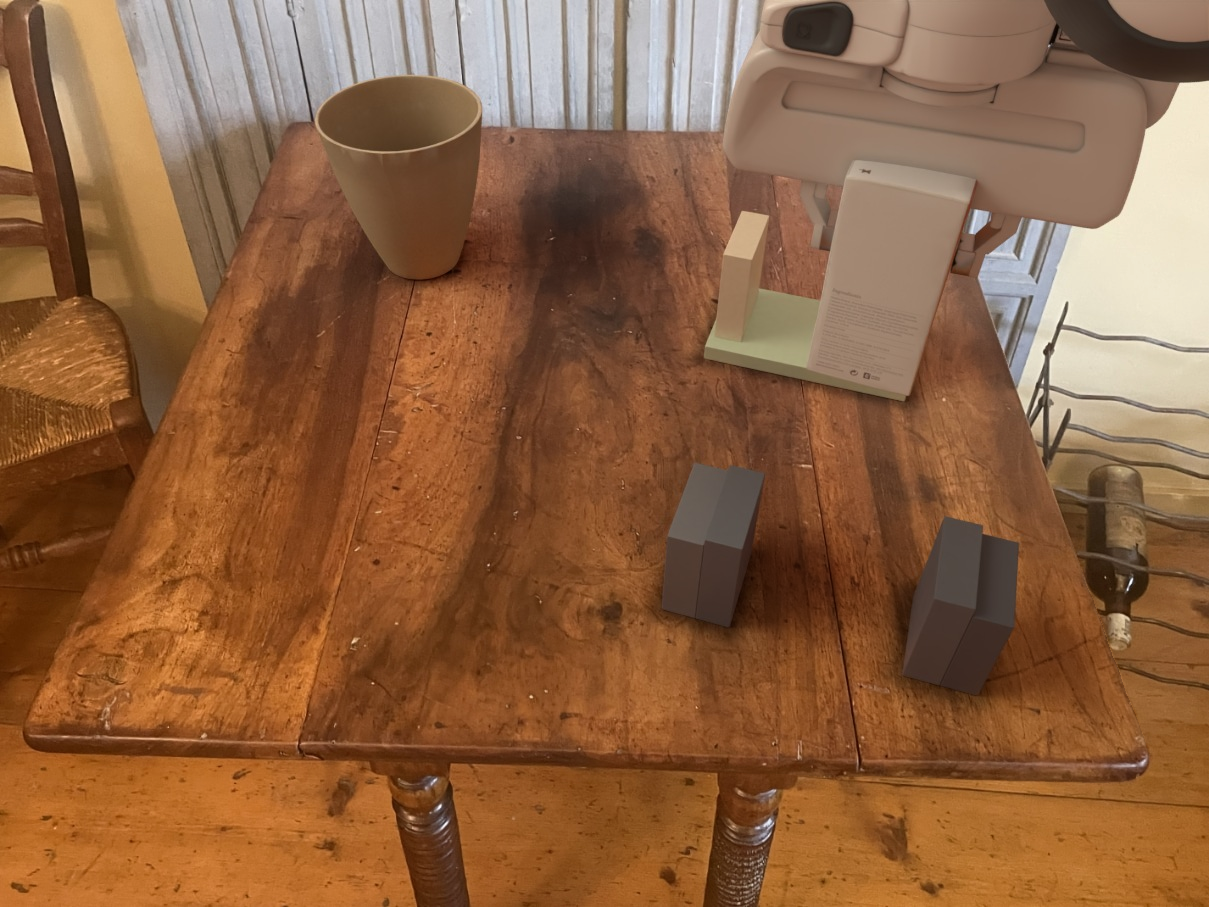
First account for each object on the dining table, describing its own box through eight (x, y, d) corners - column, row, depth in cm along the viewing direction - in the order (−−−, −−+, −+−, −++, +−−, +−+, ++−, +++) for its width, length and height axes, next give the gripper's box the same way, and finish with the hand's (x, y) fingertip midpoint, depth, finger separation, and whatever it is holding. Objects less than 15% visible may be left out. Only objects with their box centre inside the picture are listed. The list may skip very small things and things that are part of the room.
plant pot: (524, 243, 102) (514, 96, 90) (436, 321, 93) (413, 170, 82) (410, 202, 107) (387, 59, 96) (317, 273, 98) (278, 124, 87)
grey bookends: (984, 613, 70) (1023, 534, 64) (977, 696, 66) (1018, 620, 59) (686, 537, 75) (695, 456, 69) (661, 609, 71) (667, 529, 64)
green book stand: (917, 332, 92) (945, 237, 85) (904, 402, 86) (933, 305, 78) (729, 294, 96) (740, 200, 88) (703, 358, 90) (712, 262, 82)
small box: (910, 400, 57) (972, 202, 47) (803, 371, 59) (842, 175, 49) (934, 318, 62) (995, 126, 53) (835, 294, 64) (876, 103, 54)
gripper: (1193, 10, 45) (1085, 259, 56) (757, -43, 50) (730, 197, 60) (1205, 70, 41) (1087, 327, 51) (729, 6, 46) (705, 255, 56)
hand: (892, 257), depth 56 cm, fingers closed on small box, 6 cm apart
